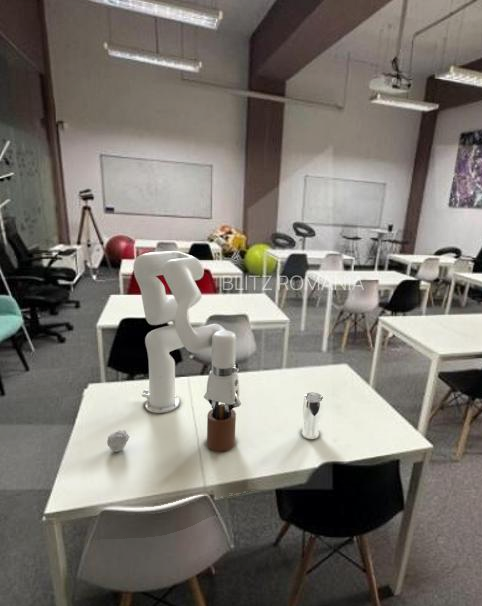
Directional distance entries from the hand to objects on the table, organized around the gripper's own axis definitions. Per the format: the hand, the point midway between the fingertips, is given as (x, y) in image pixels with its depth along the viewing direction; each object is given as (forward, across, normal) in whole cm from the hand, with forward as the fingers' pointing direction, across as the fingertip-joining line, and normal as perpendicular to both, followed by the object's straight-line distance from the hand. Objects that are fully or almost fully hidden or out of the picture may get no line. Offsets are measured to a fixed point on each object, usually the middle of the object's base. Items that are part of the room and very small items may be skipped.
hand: (221, 418), depth 126 cm
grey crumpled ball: (+10, +28, +16) cm, 34 cm away
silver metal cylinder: (+10, -27, -17) cm, 33 cm away
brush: (+9, 0, 0) cm, 9 cm away
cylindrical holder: (+9, 0, 0) cm, 9 cm away
